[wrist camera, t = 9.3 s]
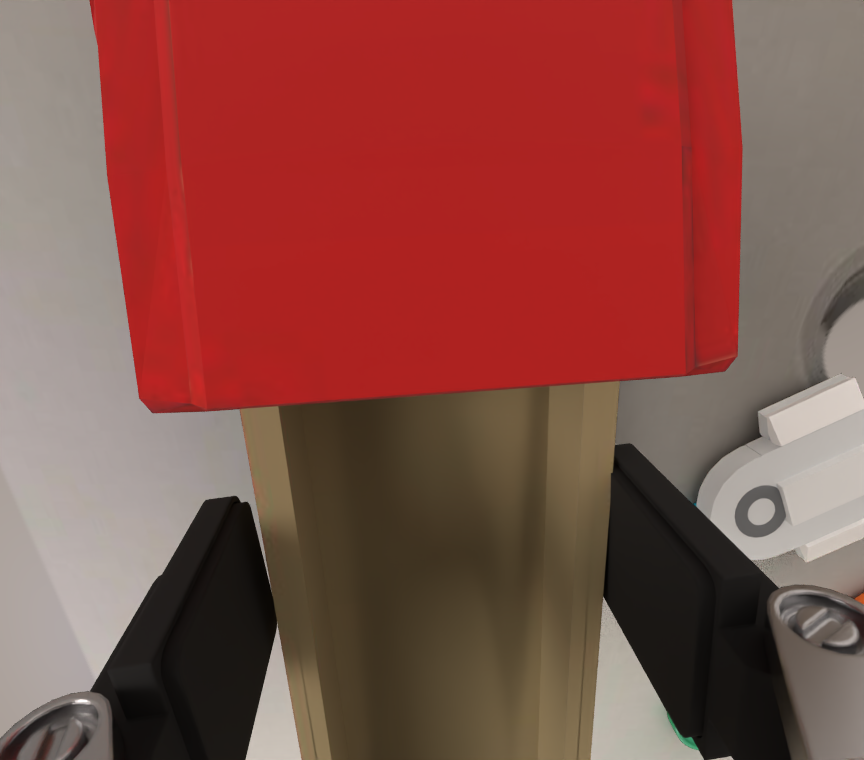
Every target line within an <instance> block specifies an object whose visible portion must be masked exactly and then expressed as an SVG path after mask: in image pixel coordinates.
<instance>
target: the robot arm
mask: <svg viewBox="0 0 864 760" xmlns="http://www.w3.org/2000/svg"><path fill="white" fill-rule="evenodd" d="M603 597H604V598H605V600H606V602H607V604H608V606H609V607H610V609H611V611H612V613H613V615H614V617H615V618H616V620H617V622H618V624H619V626H620V627H621V629H622V631H623V633H624V635H625V636H626V638H627V640H628V642H629V644H630V646H631V647H632V649H633V651H634V653H635V655H636V656H637V658H638V660H639V662H640V664H641V665H642V667H643V669H644V671H645V673H646V674H647V676H648V678H649V680H650V682H651V684H652V685H653V687H654V689H655V691H656V693H657V694H658V696H659V698H660V700H661V702H662V703H663V705H664V707H665V709H666V711H667V712H668V714H669V716H670V718H671V720H672V722H673V723H674V725H675V727H676V729H677V730H678V732H679V733H680V735H681V736H682V737H684V738H689V737H692V739H693V741H694V742H695V744H696V746H697V748H698V749H699V751H700V753H701V755H702V756H703V758H704V760H710V759H716V758H722V757H728V756H732V758H733V759H734V760H864V604H862V603H860V602H859V601H857V600H855V599H853V598H851V597H849V596H847V595H844V594H842V593H839V592H836V591H834V590H831V589H827V588H822V587H818V586H813V585H791V586H785V587H781V588H778V587H777V586H776V585H775V584H774V583H773V582H772V581H771V580H770V579H769V578H768V577H767V576H766V575H765V574H764V573H763V572H762V571H761V570H760V569H759V568H758V567H757V566H756V565H755V564H754V563H753V562H752V561H751V560H750V559H749V558H748V557H747V556H746V555H745V554H744V553H743V552H742V551H741V550H740V549H739V548H738V547H737V546H736V545H735V544H734V543H733V542H732V541H731V540H730V539H729V538H728V537H727V536H726V535H725V534H724V533H723V532H722V531H721V530H720V529H719V528H718V527H717V526H716V525H715V524H714V523H713V522H712V521H711V520H710V519H709V518H707V517H706V516H705V515H704V514H703V513H702V512H701V511H700V510H699V509H698V508H697V507H696V506H695V505H694V504H692V503H691V502H690V501H689V500H688V499H687V498H686V497H685V496H684V495H683V494H682V493H681V492H680V491H679V490H678V489H677V488H676V487H675V486H674V485H673V484H672V483H671V482H670V481H669V480H668V479H667V478H666V477H665V476H664V475H663V474H662V473H661V472H660V471H659V470H658V469H657V468H656V467H655V466H654V465H653V464H651V463H650V462H649V461H648V460H647V459H646V458H645V457H644V456H643V455H642V454H641V453H640V452H639V451H638V450H637V449H636V448H635V447H634V446H633V445H632V444H621V445H615V448H614V461H613V473H611V498H610V513H609V526H608V539H607V551H606V564H605V577H604V590H603ZM276 629H277V617H276V612H275V606H274V600H273V596H272V592H271V587H270V583H269V579H268V575H267V571H266V567H265V563H264V559H263V555H262V551H261V547H260V543H259V539H258V535H257V531H256V527H255V523H254V519H253V515H252V511H251V507H250V505H249V503H248V502H242V503H241V502H240V500H239V498H238V497H237V496H231V497H224V498H216V499H209V500H205V502H204V503H203V504H202V506H201V508H200V510H199V511H198V513H197V515H196V517H195V518H194V520H193V522H192V523H191V525H190V527H189V529H188V530H187V532H186V534H185V536H184V537H183V539H182V541H181V543H180V544H179V546H178V548H177V550H176V551H175V553H174V555H173V557H172V558H171V560H170V562H169V563H168V565H167V567H166V569H165V570H164V572H163V574H162V575H161V576H158V578H157V579H156V580H155V581H154V583H153V584H152V586H151V588H150V590H149V591H148V593H147V595H146V596H145V598H144V600H143V602H142V603H141V605H140V607H139V608H138V610H137V612H136V613H135V615H134V617H133V619H132V620H131V622H130V624H129V625H128V627H127V629H126V631H125V632H124V634H123V636H122V637H121V639H120V641H119V643H118V644H117V646H116V648H115V649H114V651H113V653H112V654H111V656H110V658H109V660H108V661H107V663H106V665H105V666H104V668H103V670H102V672H101V673H100V675H99V677H98V678H97V680H96V682H95V684H94V685H93V687H92V689H91V690H90V692H89V691H86V692H78V693H71V694H69V695H65V696H62V697H60V698H57V699H54V700H52V701H50V702H48V703H46V704H44V705H42V706H41V707H39V708H37V709H35V710H33V711H32V712H30V713H29V714H28V715H26V716H25V717H24V718H22V719H21V720H20V721H18V722H17V723H15V724H14V725H13V726H12V727H11V728H10V729H9V730H8V731H7V732H6V733H5V734H4V735H3V736H2V737H1V738H0V760H245V759H246V755H247V751H248V746H249V742H250V738H251V734H252V730H253V725H254V721H255V717H256V713H257V709H258V705H259V700H260V696H261V692H262V688H263V684H264V680H265V675H266V671H267V667H268V663H269V659H270V654H271V650H272V646H273V642H274V638H275V634H276Z"/></svg>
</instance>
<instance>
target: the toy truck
mask: <svg viewBox="0 0 864 760" xmlns="http://www.w3.org/2000/svg"><path fill="white" fill-rule="evenodd" d="M90 6H91V12H92V18H93V25H94V31H95V35H96V40H97V44H98V53H99V67H100V81H101V95H102V109H103V123H104V137H105V151H106V165H107V177H108V184H109V191H110V198H111V205H112V212H113V219H114V226H115V233H116V240H117V247H118V253H119V260H120V267H121V274H122V281H123V288H124V295H125V302H126V309H127V316H128V323H129V330H130V337H131V344H132V351H133V358H134V365H135V372H136V378H137V385H138V392H139V399H140V400H141V401H142V402H143V403H144V404H145V405H146V406H147V408H148V409H149V410H150V411H151V412H152V413H175V412H205V411H220V410H233V409H240V414H241V420H242V426H243V431H244V437H245V442H246V448H247V454H248V459H249V465H250V471H251V476H252V482H253V488H254V493H255V499H256V505H257V510H258V516H259V521H260V527H261V533H262V538H263V544H264V550H265V555H266V561H267V567H268V572H269V578H270V584H271V589H272V595H273V600H274V606H275V612H276V617H277V623H278V629H279V634H280V640H281V646H282V651H283V657H284V662H285V668H286V674H287V679H288V685H289V691H290V696H291V702H292V708H293V713H294V719H295V725H296V730H297V736H298V741H299V747H300V753H301V758H302V760H590V758H591V745H592V732H593V719H594V706H595V693H596V680H597V668H598V655H599V642H600V629H601V616H602V603H603V590H604V577H605V564H606V551H607V539H608V526H609V513H610V498H611V473H613V461H614V448H615V435H616V422H617V410H618V397H619V384H620V381H628V380H642V379H656V378H669V377H681V376H690V375H698V374H707V373H715V372H724V371H726V369H727V368H728V367H729V366H730V365H731V363H732V362H733V361H734V360H735V359H736V357H737V356H738V316H739V274H740V231H741V189H742V135H741V121H740V107H739V93H738V79H737V65H736V51H735V37H734V22H733V8H732V0H90Z"/></svg>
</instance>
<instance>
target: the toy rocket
mask: <svg viewBox="0 0 864 760" xmlns="http://www.w3.org/2000/svg"><path fill="white" fill-rule="evenodd" d="M758 420H759V431H760V434H761V435H762V436H763V437H761V438H758V439H756V440H754V441H752V442H750V443H747V444H745V446H741V447H739V448H737V449H736V450H734V451H732V452H731V453H729V454H727V455H726V456H724V457H723V458H722V459H721V460H720V461H719V462H718V463H717V464H716V465H715V466H714V467H713V468H712V469H711V470H710V471H709V472H708V474H707V476H706V478H705V479H704V481H703V483H702V485H701V487H700V489H699V494H698V499H697V503H695V504H694V505H695V506H696V507H697V508H698V509H699V510H700V511H701V512H702V513H703V514H704V515H705V516H706V517H707V518H709V519H710V520H711V521H712V522H713V523H714V524H715V525H716V526H717V527H718V528H719V529H720V530H721V531H722V532H723V533H724V534H725V535H726V536H727V537H728V538H729V539H730V540H731V541H732V542H733V543H734V544H735V545H736V546H737V547H738V548H739V549H740V550H741V551H742V552H743V553H744V554H745V555H746V556H747V557H748V558H749V559H750V560H765V559H769V558H772V557H775V556H778V555H782V554H784V553H786V552H787V551H791V550H793V549H795V551H796V554H797V555H798V556H800V557H801V558H803V560H804V561H805V562H806V563H808V562H810V561H812V560H814V559H817V558H819V557H821V556H823V555H826V554H828V553H830V552H832V551H835V550H837V549H839V548H842V547H844V546H846V545H848V544H851V543H853V542H855V541H857V540H860V539H862V538H864V397H863V396H862V393H861V391H860V388H859V386H858V383H857V381H856V379H855V378H853V377H851V378H850V377H847V376H845V375H843V374H842V373H841V374H838V375H837V376H834V377H832V378H830V379H828V380H825V381H823V382H821V383H819V384H817V385H814V386H812V387H810V388H808V389H806V390H804V391H801V392H799V393H797V394H795V395H793V396H790V397H788V398H786V399H784V400H782V401H780V402H777V403H775V404H773V405H771V406H769V407H766V408H764V409H762V410H760V411H758Z"/></svg>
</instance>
